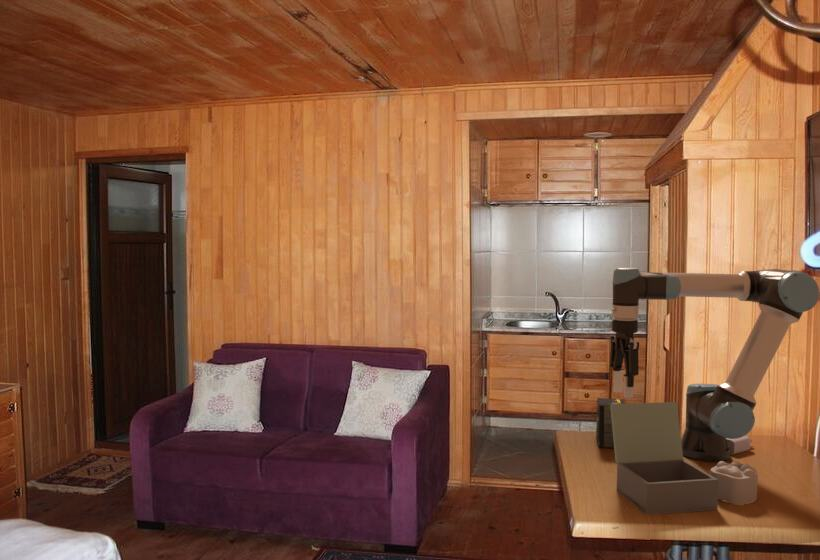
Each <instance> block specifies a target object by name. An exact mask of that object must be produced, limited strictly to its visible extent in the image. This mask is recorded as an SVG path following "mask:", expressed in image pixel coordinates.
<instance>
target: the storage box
mask: <svg viewBox="0 0 820 560" xmlns="http://www.w3.org/2000/svg"><path fill="white" fill-rule="evenodd" d="M616 466H617V469H616V492H617V491H618V493H619V494H620V495H621V496H622V497H623V496H624V497H623V498H625V499H626V500H627V501H628V502H629V503H631V504H632V505H633V506H635V507H636V508H637V509H638V510H639V511H641V512H642V513H643V514H644V515H646V516H648V515H661V514H673V513H674V514H675V513H687V512H688V513H691V512H705V511H704V510H706V511H717V510H718V502H719V501H718V479H716V478H715V477H713V476H711V475H710V474H709V473H708V472H706V471H704V470H702V469H701V468H699V467H698V466H696V465H695V464H693V463H691V462H689V461H687V460H686V459H684V458H683V459H678V460H660V461H643V462H625V463H616Z"/></svg>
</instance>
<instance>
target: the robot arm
mask: <svg viewBox="0 0 820 560" xmlns="http://www.w3.org/2000/svg"><path fill="white" fill-rule="evenodd" d="M612 277H613V278H612V307H611V313H612V315H611V316H612V318H613V319H612V320H611V331H612V332H613V333H615V335H611V336H610V352H609V353H610V355H609V367H610V368H611V369H612V371H613V383H612V385H613V389H612V391H613V393H623V398H625V399H628V398H634V389H635V388H634V387H635V385H634V382H635V376H639V374H640V373H639V372H640V371H639V369H640V367H639V348H640V342H639V341H635V338H634V334H636V333H637V332H638V330H639V329H638V328H639V321H638V320H637V319H639V304H640V303H639V301H640V300H656V301H657V300H662V301H663V300H664V301H669V300H677V299H678V298H679V297H688V298H689V297H692V298H693V297H694V298H726V299H727V298H731V299H732V298H736V299H738V301H740V302H753V303H758V307H759V310H760V313H759V315H758V317H757V318H756V321H755V323H754V325H753V327H752V329H751V331H750V333H749V335H748V337H747V338H746V341H745V342H744V344H743V347H742V349H741V351H740V352H739V355H738V357H737V358H736V360H735V362H734V364H733V366H732V369H731V371H730V372H729V374H728V376H727V377H726V380H725V382H721V383H717V384H715V383H691V384H689V385H687V387H686V388H687V389H686V393H685V396H686V398H685V428H684V432H683V434H682V435H681V436H682V437H681V444H682V453H683V457H684V456H685V457H686V458H687V457H688V458H689V459H693V460H698V461H703V462H720V461H724V462H725V461H727V460H729V459H730V455H731V454H730V450H729V446H728V443H727V440H726V438H729V439H737V438H741V437H743V436H747V435H748V434H749V433H750V432H751V431H752V429H753V428H754V427H755V423H756V417H755V413H754V411H753V410H754V409H755V407H756V405H757V400H756V398H755V395H756V393H757V391H758V388H759V386H760V384H761V382H762V381H763V379H764V377H765V375H766V374H767V371H768V369H769V367H770V365H771V363H772V361H773V360H774V358H775V355H776V354H777V352H778V350H779V348H780V346H781V344H782V342H783V340H784V338H785V336H786V334H787V332H788V330H789V328H790V326H791V325H792V324H795V323H798V322H799V321H800V319H801V318H802V317H803V316H802V315H803V314H804V312H808V311H810V310H812V309H813V308H814V307H816V305H817V303H818V301H819V299H820V287H819V285H818V282H817V281H816V280H815V278H814V277H812V276H811V275H810V274H808V273H806V272H802V271H799V270H788V269H787V270H785V269H777V268H776V269H775V268H773V269H770V268H769V269H761V270H747V271H746V270H740V271H739V272H738V273H704V272H703V273H702V272H701V273H700V272H699V273H696V272H654V271H652V272H651V271H647V272H646V271H640V269H639V268H637V267H616V268H615V269H614V271H613V276H612ZM623 363H624V367H623ZM624 369H625V370H624ZM624 371H625V374H624Z"/></svg>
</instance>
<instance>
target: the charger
mask: <svg viewBox="0 0 820 560" xmlns="http://www.w3.org/2000/svg"><path fill="white" fill-rule="evenodd" d="M726 440H727V443H728V446H729V450H730V455H732V456H733V455H735V454H739V453H743V452H746V451H750V450H751V442H753V440H752V438H751V437H749V436H747V435H745V436H743V437H741V438H737V439H729V438H726Z"/></svg>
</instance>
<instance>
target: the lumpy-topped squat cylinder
mask: <svg viewBox="0 0 820 560" xmlns="http://www.w3.org/2000/svg"><path fill="white" fill-rule="evenodd" d="M710 475H711V476H713V477H715V478H716V479H718V499H721V500H720V501H722V500H725V501H727V502H726V503H728V502H729V503H728V504H730V503H732V504H731V505H734V504H747V505H749V504H748V503H750V502H752V501H754V500H755V501H757V498H758V477H759V476H758V475H759V474H758V471H757V469H756V468H754V467H752V466H750V464H748V463H744V464H743V463H741V462H739V461H732V462H731V463H728V462H725V460H724V461H717V464H716V465H715V466H713V467H711V469H710ZM725 501H724V502H725ZM755 501H754V502H755ZM752 503H753V502H752ZM750 504H751V503H750Z"/></svg>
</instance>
